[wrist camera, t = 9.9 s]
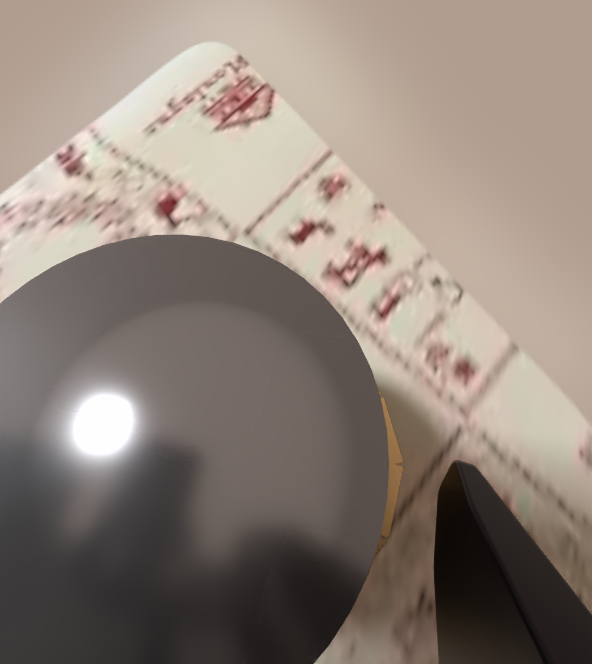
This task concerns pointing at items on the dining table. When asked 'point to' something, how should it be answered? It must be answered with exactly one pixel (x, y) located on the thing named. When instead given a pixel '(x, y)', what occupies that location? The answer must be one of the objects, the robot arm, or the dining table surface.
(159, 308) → the grey metal cylinder
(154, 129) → the dining table surface
